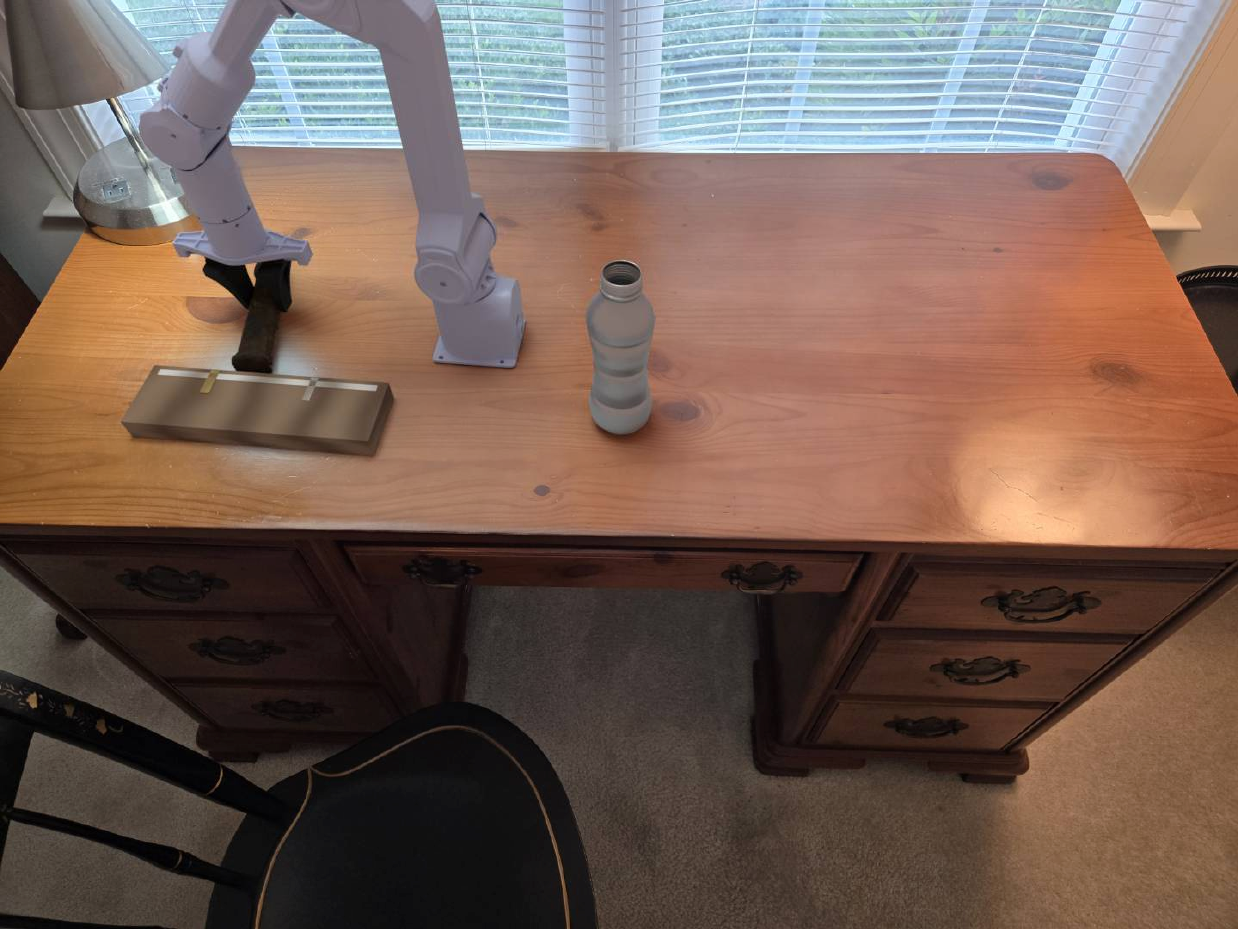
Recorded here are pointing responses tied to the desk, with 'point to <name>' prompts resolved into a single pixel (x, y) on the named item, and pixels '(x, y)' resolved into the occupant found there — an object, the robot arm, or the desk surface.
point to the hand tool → (258, 332)
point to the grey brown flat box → (260, 410)
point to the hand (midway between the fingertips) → (269, 305)
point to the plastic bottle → (620, 349)
